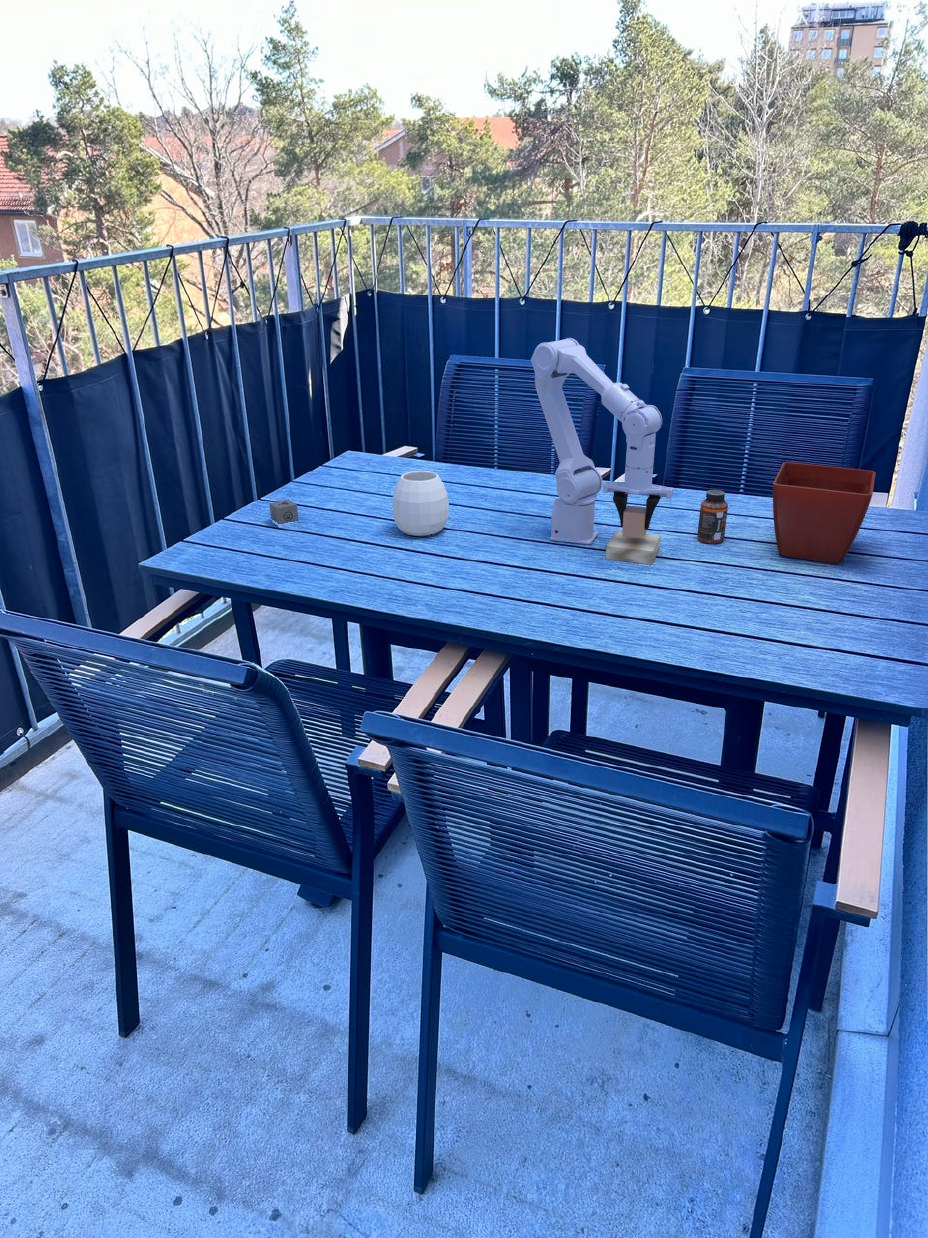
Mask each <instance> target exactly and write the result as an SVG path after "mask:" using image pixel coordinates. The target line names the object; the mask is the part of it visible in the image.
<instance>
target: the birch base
mask: <svg viewBox="0 0 928 1238" xmlns="http://www.w3.org/2000/svg"><path fill="white" fill-rule="evenodd" d="M661 539H662V535H656V534H648V533H646V534H645V536H644V537H643V538H634V537H625V536H622V530H621V531H620V530H616V531H615V532H614V534H613V535H612V537H611V538H610V539H609V541H608V543H607V544H606V547H605V548H606V549H605V560H610V561H620V562H626V563H627V562H628V563H636V564H637V563H638V564H644V565H645V564H646V565H653V563H654V561H655V559H656V557H657V555H658V554H659V551H660V547H661Z"/></svg>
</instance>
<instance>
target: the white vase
mask: <svg viewBox="0 0 928 1238" xmlns="http://www.w3.org/2000/svg"><path fill="white" fill-rule="evenodd" d="M393 490H394V491H393V494H392V503H391V504H392V505H391V506H392V517H393V519H394V523H395V524H396V527H397V528H398V529H399V530H400V531H401V532H402V533H405V534H406V535H410V536H416V537H417V536H418V537H424V536H426V537H427V536H430V535H431V534H432V535H436V534H437V533H439V532H440V531H442V530H443V529H444V527H445V526H446V524H447V522H448V519H449V516H450V513H449V512H450V503H449V496H448V495H449V494H448V491H447V489H446V487H445V485H444V483H443V480H442V479H441V478H440V475H438V473H435V472H434V471H430V470H413V471H408V472H405V473H403V474H402V475H400V477H399V478H398V481H397V483H396V485H395V488H394V489H393ZM432 535H431V536H432Z"/></svg>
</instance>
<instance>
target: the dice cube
mask: <svg viewBox="0 0 928 1238" xmlns="http://www.w3.org/2000/svg"><path fill="white" fill-rule="evenodd" d="M268 504H269V513H270V520H271V519H272V520H274V521H275V522H277V523H278V524H284V523H288V522H295V521H299V514H298V512H299V511H298V504H297V503H296V502H294V501H292V500H290V499H283V500H278V501H273V502H269V503H268Z"/></svg>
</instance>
